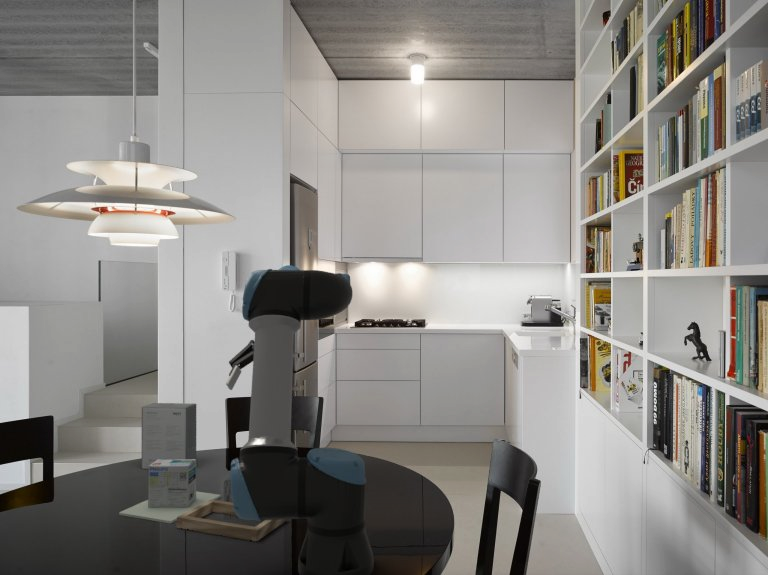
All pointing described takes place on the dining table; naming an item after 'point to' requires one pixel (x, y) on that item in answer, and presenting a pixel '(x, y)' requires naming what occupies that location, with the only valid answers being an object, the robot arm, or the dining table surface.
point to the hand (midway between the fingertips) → (249, 388)
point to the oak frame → (197, 523)
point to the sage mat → (166, 509)
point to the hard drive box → (168, 432)
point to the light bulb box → (172, 483)
